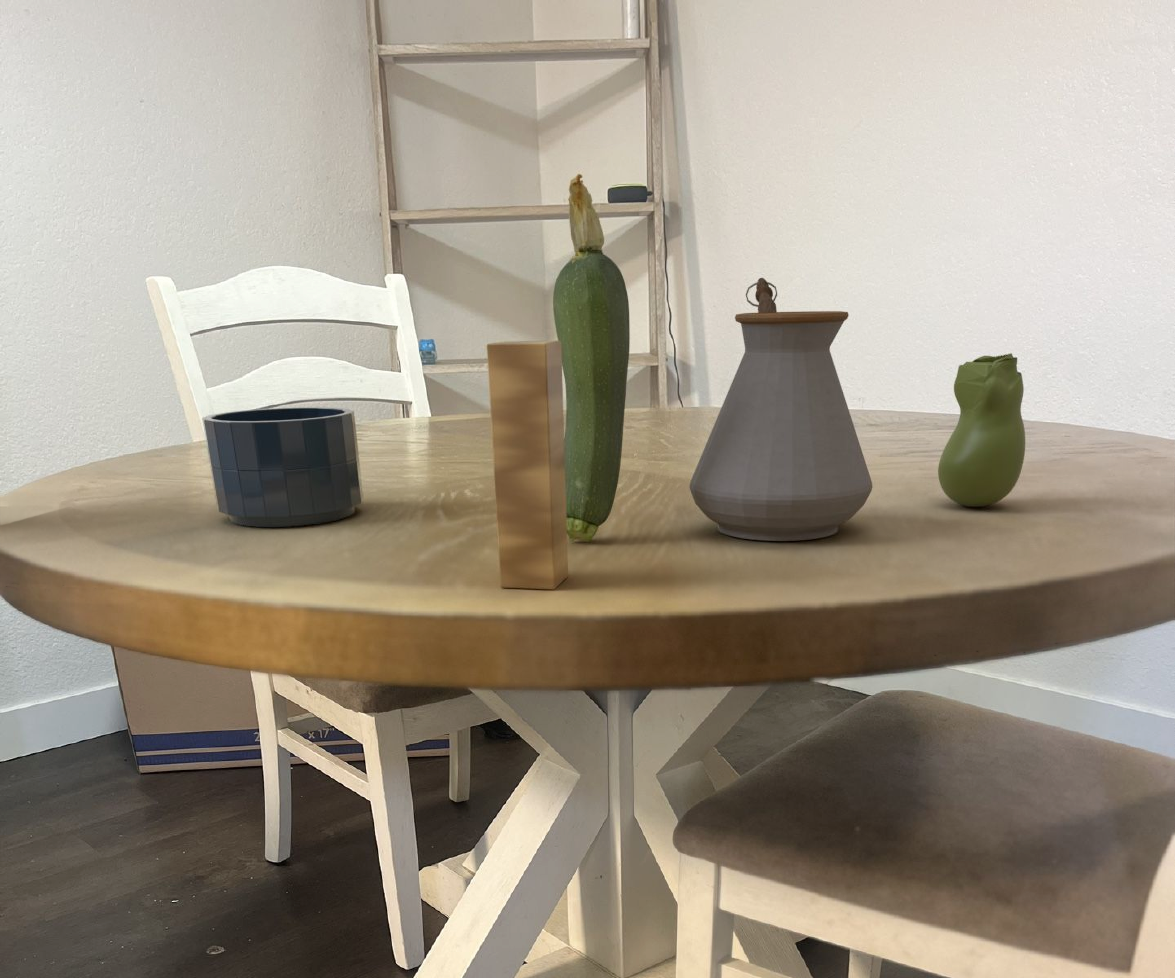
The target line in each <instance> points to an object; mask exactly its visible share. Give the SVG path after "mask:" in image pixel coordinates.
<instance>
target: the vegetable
mask: <svg viewBox="0 0 1175 978" xmlns="http://www.w3.org/2000/svg"><path fill="white" fill-rule="evenodd" d="M582 178H583V175H582V174H581V173H578V174H577V175H576V176H575V177H574V178H572V179H571V180H570V181H569V186H568V187H569V188H568V192H569V197H568V198H567V201H568V222H569V230H570V238H571V241H572V245H573V251H574V253H575V254H574V255H573V256H571V257H570V258H569V260H568V262H567V263H566V264H565V265H564V266H563V267H562V268H561V270H560V271H559V273H558V275H557V277H556V280H555V283H554V286H553V287H554V288H553V295H552V309H553V319H554V325H555V332H556V338H557V341H561V350H562V374H563V377H564V384H565V401H566V402H565V405H566V407H565V409H566V410H565V412H566V413H565V429H564V452H565V486H566V520H567V536H568V537H569V541H570V542H574V541H576V540H578V541H579V540H580V541H585V542H586V543H590V542H591V541H592V540H593V538H594V537H595V535H596V534H597V532H598V530H599V527H600V526H602V525H603V524H604V523H605V522H606V520H607V519H608V518H609V516H610V514H611V513H612V509H613V505H614V502H615V498H616V493H617V488H618V486H619V485H618V483H619V478H620V471H621V465H622V464H621V463H622V452H623V440H624V439H623V437H624V425H625V424H624V422H625V409H626V399H627V398H626V397H627V380H628V370H629V361H630V345H631V344H630V343H631V341H630V340H631V339H630V336H631V334H630V328H631V327H630V326H631V325H630V304H629V303H630V302H629V296H628V290H627V286H626V282H625V278H624V276H623V274H622V271H621V270H620V268H619V266H618V265H617V264H616V263H615V261H614V260H613V259H611V258H610V257H609V256H607V255H606V254H604V252H603V246H604V244H605V235H604V232H603V228H602V225H601V220H600V217H599V215H598V213H597V212H596V209H595V208H594V206H593V205H592V204H593V203H592V202H593V197H592V195H591V193H590V192H589V191H588V187H587V186H585V185H584V181H583V180H582Z"/></svg>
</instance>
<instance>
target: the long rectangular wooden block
mask: <svg viewBox="0 0 1175 978" xmlns="http://www.w3.org/2000/svg"><path fill="white" fill-rule="evenodd" d="M486 356H487V374H488V375H487V376H488V390H489V391H488V392H489V408H490V409H489V410H490V425H491V444H492V445H491V446H492V460H493V462H492V463H493V478H494V479H493V480H494V495H495V497H494V498H495V514H496V531H497V532H496V533H497V547H498V565H499V566H498V567H499V583H500V585H499V586H500V588H502V589H524V590H526V589H527V590H550V591H553V590H556V588H558V587H559V586H560V585H561V584H562V583H563V582H564V581H565V580H566V579H567V578H568V577H569V558H568V557H569V556H568V534H567V520H566V486H565V452H564V438H565V423H564V422H565V421H564V395H563V393H564V390H563V388H564V387H563V367H562V350H561V341H558V340H506V341H504V340H503V341H498V342H490V343H487V344H486Z"/></svg>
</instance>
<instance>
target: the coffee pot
mask: <svg viewBox="0 0 1175 978" xmlns="http://www.w3.org/2000/svg"><path fill="white" fill-rule="evenodd" d="M755 286H756V287H755ZM770 286H771V287H770ZM753 287H755V288H756V289H755V290H756V291H755V295H754V296H755V300H756V302H757V303H758V304H756V303H753V302H752V301H751V300H749V297H748V294H749V292H750V289H752V288H753ZM772 288H774V290H775V291H774V292H775V295H774V292H773V289H772ZM773 296H774V297H773ZM745 297H746V302H747V303H748V304H750V305H751V306H752V307H756V308H757V312H743V313H737V314H735V316H734V320H735V322H736V323H739V324H740V326H741V332H742V338H743V344H744V353H743V355H742V358H741V361H740V363H739V365H738V367H737V370H736V372H735V375H734V377H733V379H732V382H731V383H730V386H729V389H728V391H727V393H726V395H725V398H724V401H723V403H722V405H721V408H720V410H719V413H718V414H717V418H716V420H715V421H714V424H713V427H712V429H711V432H710V434H709V437H708V439H707V441H706V444H705V446H704V448H703V451H702V453H701V456H700V457H699V460H698V463H697V465H696V466H695V469H694V472H693V474H692V477H691V479H690V482H689V491H690V493H691V496H692V499H693V500H694V503H695V505H696V506H697V507H698V509H699V510H700V511H701V512H702V514H703V515H705V516H706V517H707V518H708V519H709V520H711V521H713V522H714V523H716V524H717V525H718V526H717V530H718V531H719V532H720V533H721V534H723V535H727V536H730V537H734V538H738V539H747V540H753V541H755V540H756V541H767V542H770V541H773V542H788V541H789V542H790V541H791V542H792V541H807V540H815V539H822V538H826V537H829V536H830V537H831V536H833V535H835V534H836V533H838V531H839V526H840V525H842V524H843V523H845V522H848V521H849V520H850V519H852V518H853V517H854V516H855V515H856V514H857V513H858V512H859V511H860V510H861V509H862V508H863V507H864V506H865V504H866V503H867V500H868V498H869V497H870V495H871V493H872V491H873V481H872V478H871V475H870V472H869V469H868V465H867V463H866V459H865V455H864V453H863V449H862V447H861V443H860V441H859V438H858V435H857V431H856V429H855V425H854V422H853V418H852V416H851V413H850V409H849V406H848V403H847V400H846V398H845V393H844V392H843V391H844V390H843V388H842V385H841V382H840V377H839V375H838V372H837V368H836V366H835V362H834V360H833V355H832V353H831V346H832V344H833V342H834V341H835V339H836V337H837V335H838V333H839V331H840V329H841V327H842V326H843V324H844V322H845V321H847V320H848V317H849V316H850V315H849V312H848V311H841V310H825V311H824V310H821V311H820V310H819V311H817V310H816V311H815V310H813V311H808V310H807V311H777V304H776V299H777V297H778V290H777V286H775V284H773V283H772V282H770V281H767V280H766V279H765V278H764V277H760V278H758V279H757V281H756V282H754V283H752V284H751V285H749V286H748V287H747V290H746V292H745Z"/></svg>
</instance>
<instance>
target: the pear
mask: <svg viewBox="0 0 1175 978" xmlns="http://www.w3.org/2000/svg"><path fill="white" fill-rule="evenodd" d="M1017 365H1018V357H1016V356H1015V357H1014V356H1013V353H1012V352H1011V353H1006V354H1003V355H1002V354H1000V355H996V356H992V355H982V356H980V357H976V358H975V359H973V361H966V362H964V363H963V364H959V365H958V368H957V372H956V377H955V379H954V383H953V393H954V397H955V400H956V402H957V403H958V406H959V411H960V414H959V418H958V421H957V424H956V426H955V428H954V430H953V431H952V433H951V435H950V437H949V438H948V441H947V442H946V445H945V446H944V448H943V451H942V453H941V455H940V458H939V463H938V468H937V473H938V475H937V476H938V481H939V485H940V487H941V490H942V491H943V492H944V494H945V495H946V496H947V497H948V498H949V499H950V500H951V501H952V502H954V503H956V504H959V505H961V506H965V507H969V508H981V507H987V506H991V505H994V504H996V503H998V502H1000V501H1001V500H1004V498H1005V497H1007V496H1008V495H1009V494H1011V492H1012V491H1013V489H1014V488H1015V487H1016V484H1017V483H1018V480H1019V478H1020V476H1021V474H1022V473H1021V472H1022V469H1023V464H1024V460H1025V454H1026V430H1025V424H1024V421H1023V417H1022V402H1023V397H1024V391H1025V389H1024V381H1023V374H1022V373H1021V372H1020V371H1018V366H1017Z"/></svg>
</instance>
